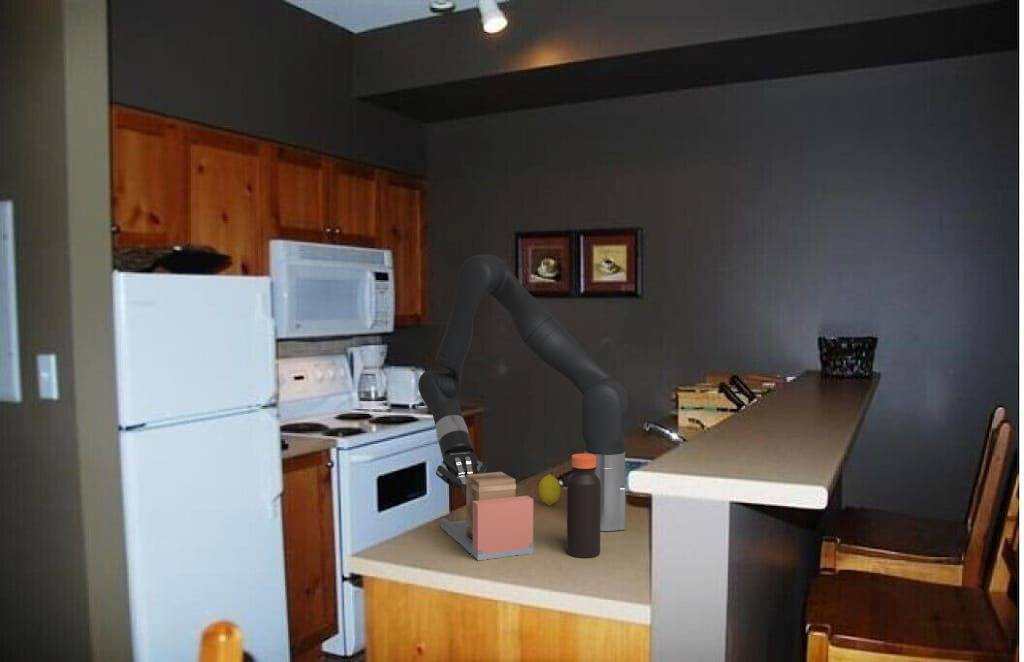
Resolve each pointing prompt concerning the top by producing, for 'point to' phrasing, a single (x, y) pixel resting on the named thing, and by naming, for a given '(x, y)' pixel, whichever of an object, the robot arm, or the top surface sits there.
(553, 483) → the lemon
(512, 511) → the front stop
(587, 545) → the bottle
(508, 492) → the crate
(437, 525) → the top surface
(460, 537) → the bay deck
